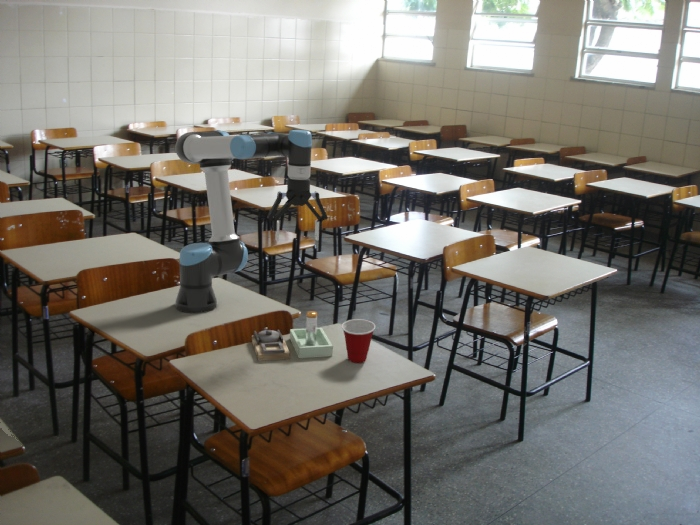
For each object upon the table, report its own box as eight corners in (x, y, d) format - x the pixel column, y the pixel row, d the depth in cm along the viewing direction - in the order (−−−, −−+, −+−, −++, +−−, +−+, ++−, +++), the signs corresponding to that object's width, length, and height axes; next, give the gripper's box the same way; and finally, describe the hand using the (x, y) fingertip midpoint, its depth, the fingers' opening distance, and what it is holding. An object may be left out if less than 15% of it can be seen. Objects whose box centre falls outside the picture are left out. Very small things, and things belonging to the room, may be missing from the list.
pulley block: (251, 340, 237) (251, 327, 236) (281, 339, 240) (281, 325, 239) (258, 360, 223) (258, 346, 221) (289, 358, 225) (290, 344, 224)
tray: (289, 338, 241) (290, 329, 240) (321, 337, 244) (321, 327, 243) (299, 358, 226) (299, 348, 225) (332, 356, 229) (332, 346, 228)
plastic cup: (332, 360, 226) (334, 325, 223) (352, 350, 235) (354, 316, 231) (360, 370, 220) (363, 334, 217) (379, 359, 229) (382, 324, 225)
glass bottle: (304, 342, 236) (305, 311, 233) (314, 342, 237) (316, 310, 234) (306, 346, 233) (307, 315, 229) (317, 346, 234) (318, 314, 230)
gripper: (263, 179, 227) (261, 243, 233) (338, 179, 234) (335, 241, 240) (259, 175, 234) (258, 237, 240) (332, 176, 241) (330, 236, 247)
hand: (296, 239), depth 240 cm, fingers open, 13 cm apart
